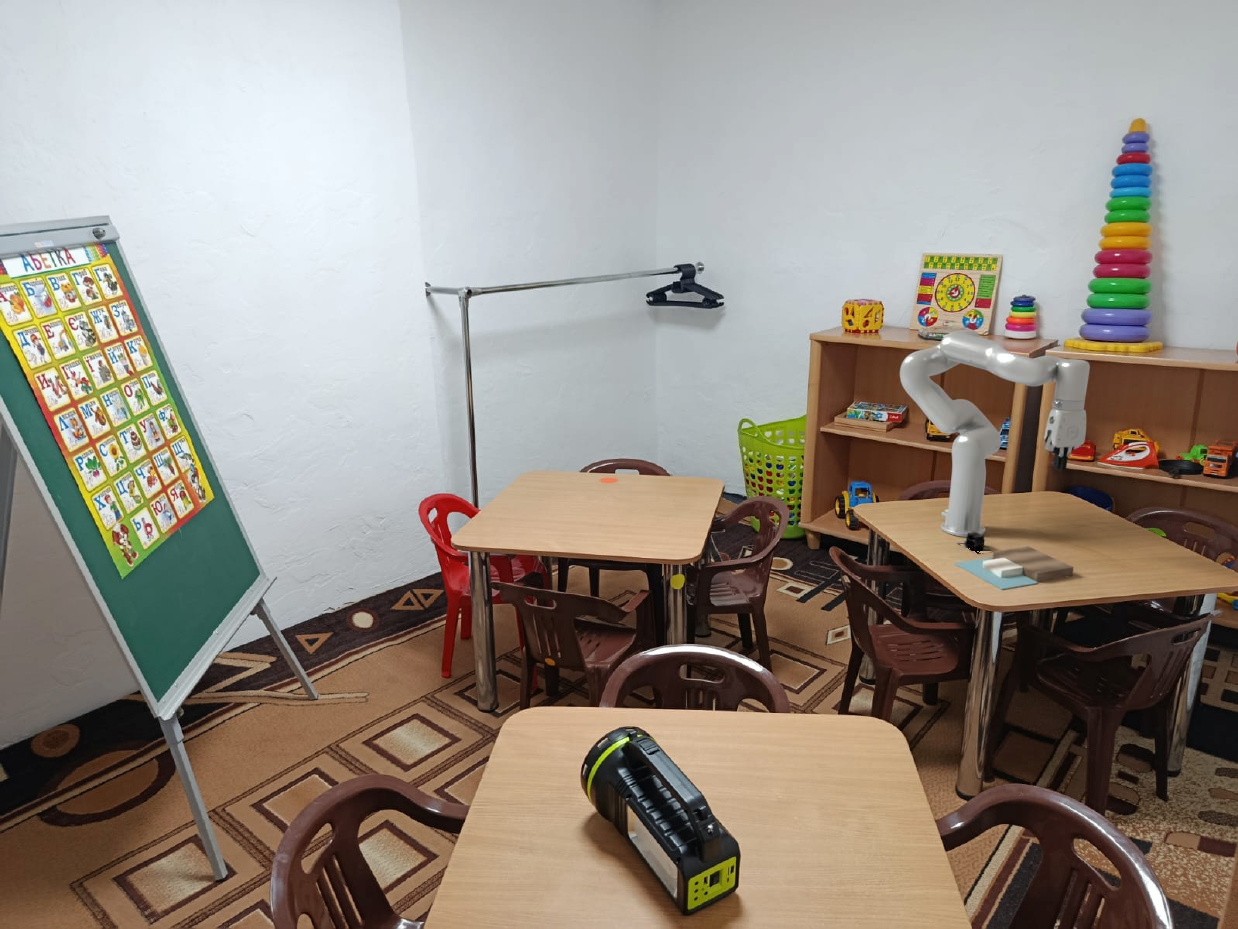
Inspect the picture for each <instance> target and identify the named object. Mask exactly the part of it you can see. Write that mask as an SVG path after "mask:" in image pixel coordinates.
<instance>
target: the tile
mask: <svg viewBox="0 0 1238 929" xmlns="http://www.w3.org/2000/svg"><path fill="white" fill-rule="evenodd" d="M992 559H993V558H992ZM982 568H984V569H986V570H988V571H990V572H991V573H993V574H995V575H997V576H999V577H1007V576H1014V575H1020V574H1022V572H1023V567H1022V566H1020V565H1018V564H1016V563H1014V562H1012V561H1010V560H1008V559H1006V558H999V559H993V560H986V561H983V567H982Z"/></svg>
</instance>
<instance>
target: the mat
mask: <svg viewBox="0 0 1238 929" xmlns="http://www.w3.org/2000/svg"><path fill="white" fill-rule="evenodd" d="M986 560H993V558H991V557H986V558H979V559H972V560H965V561H958V562H954V564H955V565H956V566H958V567H960V568H961V569H964V570H965V571H966V572H969V573H970V574H972V575H974V576H976V577H977V578H980V579H981V580H983V581H985V582H987V583H989V584H991V585H992V586H994V587H996V588H998V589H1000V590H1001V591H1003V590H1009V589H1013V588H1020V587H1028V586H1034V585H1038V584H1039V582H1036V581H1034V580H1032V579H1030V578H1028V577H1026V576H1024V575H1022V574H1020V575H1014V576H1007V577H999V576H997V575H995V574H993V573H991V572H990V571H988V570H986V569H984V568H982V567H983V561H986Z"/></svg>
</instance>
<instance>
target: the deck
mask: <svg viewBox="0 0 1238 929" xmlns="http://www.w3.org/2000/svg"><path fill="white" fill-rule="evenodd" d="M992 553H993V554H992V559H999V558H1006V559H1008V560H1010V561H1012V562H1014V563H1016V564H1018V565H1020V566H1022V567H1023V572H1022V575H1024V576H1026V577H1028V578H1030V579H1032V580H1034V581H1036V582H1038V583H1039V582H1044V581H1049V580H1050V581H1051V580H1055V578H1057V579H1062V577H1063V578H1067V577H1066V576H1069V577H1072V576H1073V573H1074V572H1073V571H1074V566H1072V565H1069V564H1067V563H1066V562H1063V561H1061V560H1059V559H1056V558H1054V557H1052V556H1049V555H1048V554H1046V553H1044V552H1041V551H1040V550H1037V549H1034V548H1033V547H1030V546H1029V545H1028V546H1020V547H1015V548H1008V549H1002V550H995V551H993V552H992ZM1071 575H1072V576H1071Z"/></svg>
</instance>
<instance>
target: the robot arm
mask: <svg viewBox="0 0 1238 929" xmlns="http://www.w3.org/2000/svg"><path fill="white" fill-rule="evenodd" d="M959 364H963V365H968V366H971V367H974V368H978V369H981V370H985V371H987V372H989V373H992V374H993V375H995V376H996V377H999V378H1001V379H1004V380H1007V381H1010V382H1013V383H1017V384H1020V385H1024V386H1028V387H1040V386H1043V385H1045V384H1050V383H1055V389H1054V393H1053V394H1054V395H1053V401H1052V402H1051V403H1050V404H1051V407H1052V409H1051V410H1050V412H1049V413H1048V414H1049V415H1048V417H1047V421H1046V425H1045V431H1044V435H1043V436H1044V438H1043V439H1044V440H1043V442H1044V444H1045V446H1044V450H1046V451H1050V452H1052V455H1054V456H1053V462H1052V463H1053V464H1052V469H1054V470H1057V471H1060V472H1062V471H1066V470H1067V464H1068V458H1069V457H1070V456H1071V453H1072V452H1073V451H1074V450H1076V449H1078V448H1080V447H1081V446H1082V445H1084V443H1085V440H1086V434H1087V413H1086V412H1087V411H1086V409H1084V408H1085V403H1086V402H1085V401H1086V395H1087V389H1088V383H1089V375H1090V368H1091V367H1090V363H1089V361H1087V360H1084V359H1077V358H1073V359H1072V358H1068V359H1067V358H1063V357H1059V356H1056V355H1055V356H1054V355H1042V356H1038V357H1035V358H1032V357H1027V356H1023V355H1020V354H1015V353H1012V352H1010V351H1008V350H1007V349H1005V348H1004V346H1003V344H1002V343H1001V342H999V341H995V340H992V339H989V338H988V339H987V338H984V337H981V336H980V335H979V334H978V333H977V332H976V331H974V330H972V329H961V330H956V331H955V330H954V331H951V332H949V333H947V334H946V335H944V336H943V338H942V339H941V340H940V343H939V344H937V345H934V346H933V347H930V348H926V349H920V350H916V351H914V352H912V353H910V354H908V355H907V356H906V357H905V358H904V360H903V361H902V362H901V365H900V369H899V378H900V379H899V380H900V384H901V385H902V387H903V389H904V390H905V392H906V393H907V394H908V396H909V397H910V398H911V399H912V400H913V402H915V404H917V406H918V407H919V408H920V410H921V411H922V412H923V414H925V416H926V417H927V418H928V419H929V420H930V421H931V422H932V424H933V426H935V428H936V429H937V430H938V431H939V432H941V433H942V434H945V435H951V434H954V433H959V435H958V436H957V437H956V438H955V439H954V441H953V443H952V447H951V460H952V461H951V462H952V464H951V465H952V467H951V477H950V478H951V480H950V490H949V501H948V508H946V509H945V510H944V511H942V512H941V516H942V517H944V518H945V519H944V520H945V521H943V522H942V523H941V525H940V528H941V530H942V531H943V532H945V533H947V534H949V535H953V536H957V537H963V538H966V537H967V535H968V533H973V532H977V533H979V534H981V535H983V536H984V535H985V533H986V528H985V527H984V525H982V524H981V522H982V513H983V505H984V504H983V503H984V496H985V488H986V478H987V477H986V476H987V470H986V469H987V467H986V458H988V457H991V456H992V455H994V454H996V453H997V452H998V451H999V450H1000V448H1001V446H1002V438H1001V434H1000V432H999V431H998V430H997V428H996V427H995V425H993V423H992V422H991V421H990V420H989V419H988V418H987V417H986V415H985V414H984V413H983V412H982V411H981V410H980V409H979V408H978V407H977V406H976V405H975V404H974V403H973V402H971V401H969V400H968V399H964V398H959V399H958V398H957V399H954V400H953V399H952V398H951V397H950V396H949V395H948V394H947V393H946V392H945V390H944V389H943V388H942V387H941V386H940V385H939V384H938V383H936V382H934V381H933V380H932V379H931V378H930V377H932V376H937V375H939V374H942V373H944V372H946V371H948V370H950V369H952V368H953V367H956V366H957V365H959Z"/></svg>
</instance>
